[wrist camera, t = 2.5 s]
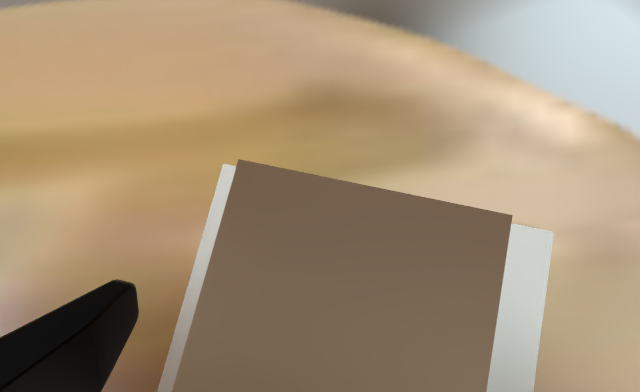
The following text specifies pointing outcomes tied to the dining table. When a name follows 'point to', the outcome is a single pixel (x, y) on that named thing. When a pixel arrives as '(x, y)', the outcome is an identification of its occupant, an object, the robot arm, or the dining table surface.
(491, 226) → the brown post on stand
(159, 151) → the dining table surface
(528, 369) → the primed board
